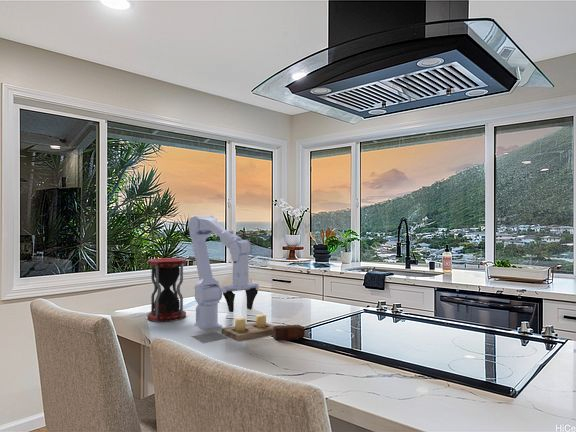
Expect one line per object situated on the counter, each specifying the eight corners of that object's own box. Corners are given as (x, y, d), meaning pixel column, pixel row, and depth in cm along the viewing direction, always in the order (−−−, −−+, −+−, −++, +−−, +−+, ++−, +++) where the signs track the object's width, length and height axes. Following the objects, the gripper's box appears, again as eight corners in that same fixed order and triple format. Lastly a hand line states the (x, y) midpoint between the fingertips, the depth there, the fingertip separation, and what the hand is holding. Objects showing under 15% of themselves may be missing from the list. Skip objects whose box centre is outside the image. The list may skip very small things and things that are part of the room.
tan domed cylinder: (253, 331, 157) (253, 315, 157) (262, 329, 159) (262, 314, 160) (259, 333, 154) (259, 317, 154) (268, 331, 156) (268, 315, 156)
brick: (275, 341, 144) (275, 328, 144) (272, 338, 148) (273, 325, 148) (304, 339, 147) (304, 326, 147) (301, 336, 151) (301, 323, 151)
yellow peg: (232, 335, 152) (232, 318, 152) (241, 333, 154) (242, 317, 154) (238, 337, 148) (238, 320, 148) (247, 335, 151) (248, 319, 151)
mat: (190, 337, 149) (190, 336, 149) (216, 332, 155) (216, 331, 155) (202, 343, 141) (202, 343, 141) (228, 338, 147) (228, 338, 147)
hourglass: (139, 320, 174) (139, 260, 174) (161, 312, 189) (161, 257, 189) (172, 323, 169) (172, 261, 169) (193, 314, 184) (193, 258, 184)
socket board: (221, 333, 153) (221, 328, 153) (262, 326, 164) (262, 321, 164) (237, 341, 144) (237, 335, 144) (279, 333, 155) (279, 327, 155)
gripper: (228, 276, 144) (227, 315, 144) (263, 272, 153) (262, 309, 153) (218, 273, 150) (218, 311, 150) (253, 270, 158) (252, 306, 158)
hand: (240, 310), depth 151 cm, fingers open, 7 cm apart
